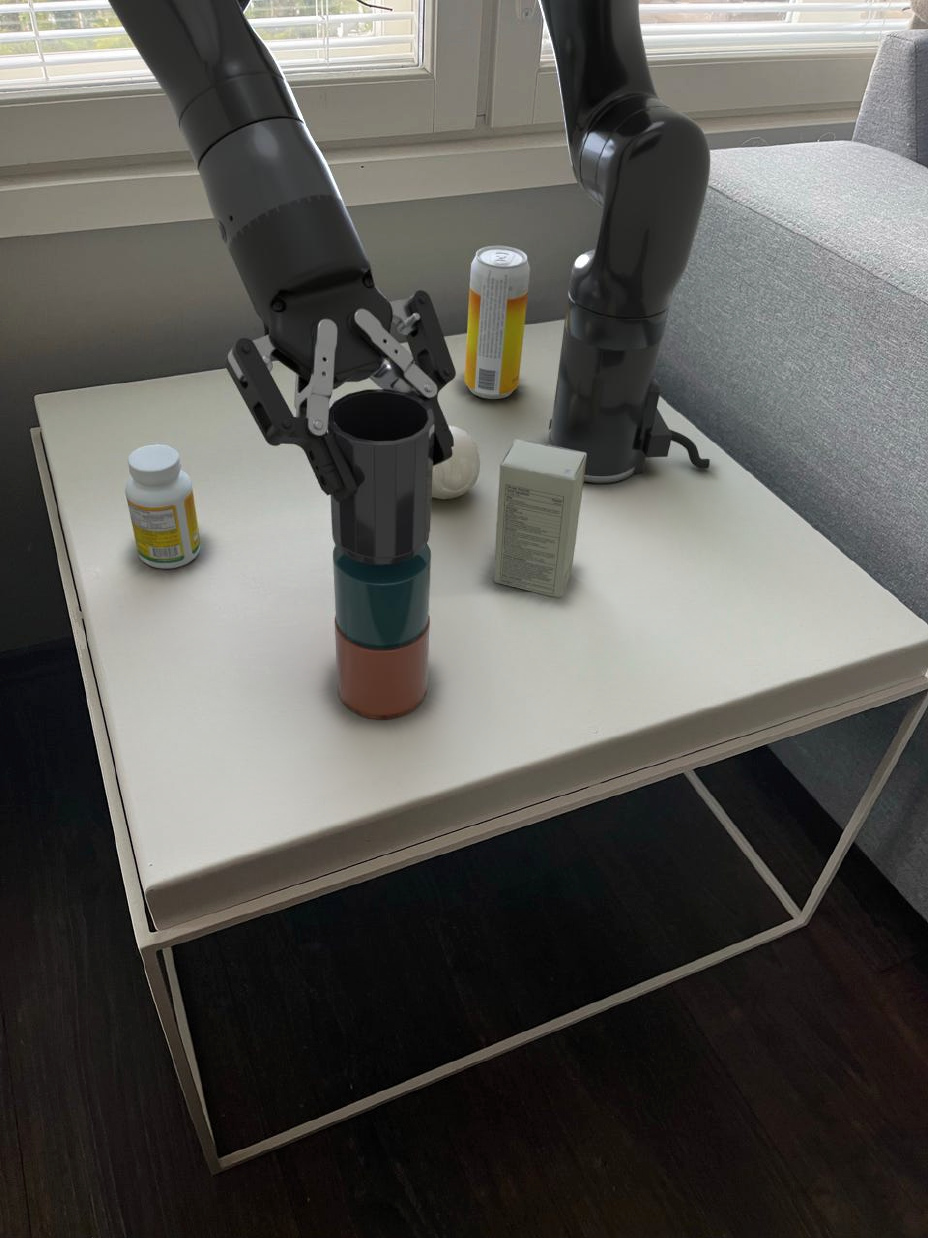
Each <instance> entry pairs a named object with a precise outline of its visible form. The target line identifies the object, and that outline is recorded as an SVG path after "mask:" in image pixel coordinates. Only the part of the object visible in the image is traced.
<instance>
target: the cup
mask: <svg viewBox="0 0 928 1238" xmlns="http://www.w3.org/2000/svg"><path fill="white" fill-rule="evenodd" d="M434 426H435V419H434V415H433V411H432V408H430V407H429V406H428V405H427V404H426V403H425V402H424V401H423V400H422V399H420V398H418V397H415V396H413V395H411V394H408V393H406V392H401V391H395V390H389V389H382V388H372V389H368V388H367V389H362V390H359V391H354V392H349V393H347V394H345V395H343V396H342V397H339V398H338V399H336V400H334V401H333V402H332V403H331V405H330V406H329V417H328V430H327V433H328V435H330V434H333V433H334V435H335V437H336V440H337V442H338V444H339V446H340V448H341V450H342V453H343V455H344V457H345V459H346V462H347V464H348V466H349V469H350V471H351V473H352V475H353V478H354V480H355V482H356V485H357V489H358V491H357V493H356V494H355V495H353V496H351V497H350V498H348V499H345V500H343V501H340V502H337V501H336V500H335V499H334V497H333V495H332V494H331V495H329V498H330V516H331V517H330V518H331V519H330V520H331V521H330V522H331V537H332V541H333V543H334V546H335V545H336V547H337V548H338V549H339V550H340V551H341V552H342V553H343V554H344V555H346V556H348V557H349V558H352V559H354V560H356V561H359V562H363V563H367V564H375V565H387V564H395V563H400V562H403V561H406V560H409V559H411V558H413V557H415V556H416V555H418V554H419V553H420V552H421V551H422V550H423V549H424V548H425V546H426V545H427V544H428V543H429V541H430V532H431V523H432V522H431V519H432V518H431V517H432V499H433V497H432V474H433V450H434Z"/></svg>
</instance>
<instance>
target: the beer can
mask: <svg viewBox="0 0 928 1238" xmlns="http://www.w3.org/2000/svg"><path fill="white" fill-rule="evenodd" d="M530 274H531V266H530V263H529V261H528V255H527V254H526V253H525V252H524V251H522V250H521V249H519V248H517V247H512V246H506V245H488V246H484V247H481V248H479V249H478V250H477V251H476V252H475V256H474V258H473V259H472V262H471V264H470V279H469V292H468V293H469V295H468V311H467V326H466V329H467V330H466V344H465V345H466V346H465V362H464V377H463V379H464V384H465V385H466V387H468V389H469V391H470V392H471V393H472V394H474V395H475V396H476V397H479V398H483V399H488V400H497V399H504V398H507V397H509V396H510V395H511V394H512V393H513V391H514V390H516V389H517V388H518V386H519V383H520V372H521V363H522V354H523V353H522V352H523V345H524V343H523V342H524V333H525V324H526V323H525V322H526V316H527V315H526V314H527V313H526V312H527V304H528V295H529V293H528V292H529V286H530V285H529V284H530Z"/></svg>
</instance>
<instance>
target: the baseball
mask: <svg viewBox="0 0 928 1238" xmlns="http://www.w3.org/2000/svg"><path fill="white" fill-rule="evenodd" d="M448 426H449V430H450V431H451V433H452V436H453V439H454V446H453V447H451V448H452V452H453V454H452V457H451V458H449V459H447V460H446V461H444V462H442V463H440V464H437V465H435V466H433V474H432V498H434V499H438V500H451V499H455V498H458V497H460V496H462V495H464V494H466V493H467V492H468V491H469V490H471V489H472V488H473V486H475V484H476V482H477V480H478V477H479V475H480V471H481V455H480V451H479V447H478V445H477V443H476V441H475V440H474V439H473V437H471V435H470V434H468V432H466V431H465V430H464V429H461V428H460V427H457V426H454V425H449V424H448Z"/></svg>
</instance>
